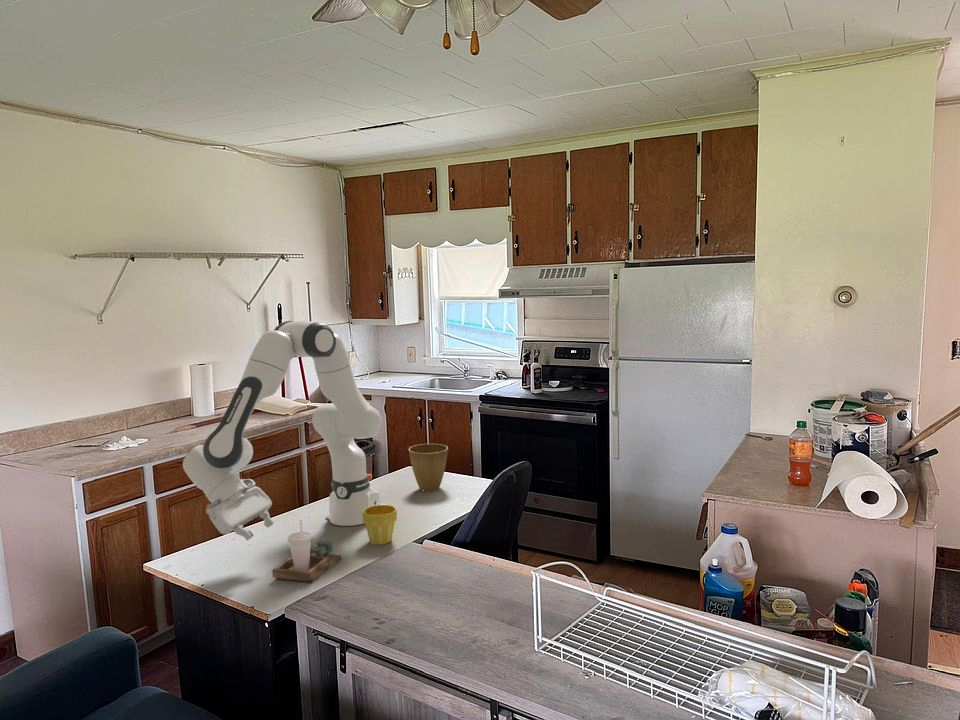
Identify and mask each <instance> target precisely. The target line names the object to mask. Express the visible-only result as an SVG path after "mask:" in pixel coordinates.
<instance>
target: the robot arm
mask: <svg viewBox="0 0 960 720" xmlns="http://www.w3.org/2000/svg"><path fill="white" fill-rule="evenodd" d="M250 354H251V355H250V356H249V358H248V361H247V364H246V366H245V369H244V370H243V371H244V372H243V374H242V377H241V379H240V381H239V383H238V386H237V389H236V390H235V392H234V394H233V396H232V399H231V400H230V402H229V404H228V407H227V408H226V411H225V412H224V415H223V417H222V419H221V421H220V423H219V424H218V426H217V427H216V428H215V429H214V430H213V431H212V432H211V433H210V434H209V435H208V436H207V437H206V439H205V441H204V444H201V445H200V444H199V445H196V446H194V447H192V449H190V450H189V451H188V453H187V454H185V456H184V458H183V462H182V468H183V471H184V472H185V474H186V475H187V477H188V478H189V480H191V482H192V483H193V484H194V485H195V487H196V488H198V489H200V490H201V491H202V492H203V494H204V495H205V498H206V499H207V500H208V501H209V502H211V503H208V504H207V506H206V508H205V512H206V514H207V515H208V516H209V519H210V521H211V522H212V523H213V525H214V526H215V529H217V531H219V533H220V534H222V535H227V534H230V533H231V532H234V533H235V534H237V535H238V536H241V537H243V539H245V540H246V541H249V540H250V539H252V538H253V537H254V533H253V532H252V531H251V530H250V529H249V530H247V529H245V528H244V525H246V524H247V523H249V522H250V521H252V520H254V519H256V518H258V517H260V519H263V521H264V522H263V525H264V526H265V527H266V528H267V529H268V528H270V527H272V526H273V525H274V521H273V520H272V519H271V516H270V513H269V510H270V508H271V507H272V505H273V502H272V500H271V498H270V497H269V496H268V495H267V494H266V493H265V491H264V490H262V489H261V488H260V487H259V486H256V482H255V481H254V480H253V479H251V478H247V479H246V478H245V479H244V478H236V477H235V476H234V474H235V473H237V472H238V471H240V470H242V469H243V468H245V467H246V466H247V465H249V464H250V462H251V461H252V459H253V456H254V447H253V444H252V442H250V441H249V439H247V438H245V437H243V434H244V431H245V429H246V427H247V424H248V422H249V420H250V418H251V415H252V413H253V411H254V409H255V407H256V406H257V405H258V404H259V403H260V402H261V401H263V400H265V399H266V398H269V397H271V396H273V395H275V394H276V393H277V391H278V389H279V388H280V387H281V385H282V383H283V381H284V378H285V376H286V373H287V370H288V369H289V368H288V367H289V365H290V362H291V361H292V359H293V358H294V357H299V358H312V361H313V364H314V365H313V366H314V369H315V373H316V377H317V380H318V385H319V388H320V392H321V393H322V395H323V396H324V397H325V398H327V399H328V400H329V401H331V403H324V404H320V405H318V406H317V407H316V408H315V409H314V411H313V413H312V418H311V422H312V426H313V429H314V430H315V431H316V432H317V433H318V434H319V435H320V436H321V437H322V439H323V440H324V442H325V444H326V446H327V447H326V448H327V449H328V451H329V455H330V461H331V470H332V472H331V473H332V479H331V484H330V485H331V490H332V492H330V493H329V502H328V503H329V504H328V505H329V507H328V510H329V511H328V512H327V514H326V515H325V517H326V519H327V520H329V523H331V524H333V525H336V526H342V527H343V526H346V527H348V526H351V527H352V526H358V525H364V524H365V523H364V522H363V510H364V509H365V508H367V507H369V506H374V505H387V504H386V503H383V502H381V500H380V499H381V498H380V493H379V491H377V490H376V489H374V487H372V486H370V481H372V479H373V474H372V473H367V464H366V463H367V462H366V454H365V452H364V450H362V449H361V447H359V446H358V445H357V443H356V442H355V439H358V440H361V439H369V438H374V437H376V436H377V435H378V434H379V432H380V430H381V428H382V424H383V423H382V421H383V420H382V415H381V413H380V411H378V409H377V408H375V407H374V406H372V405H371V404H370V403H369V402H368V400H366V399H365V397H364V396H363V394H362V393H361V391H360V389H359V387H358V386H357V382H356V380H355V378H354V373H353V370H352V367H351V361H350V358H349V355H348V352H347V349H346V346H345V344H344V342H343V340H342V338H341V336H340V335H338V334H337V333H335V332H334V331H333V330H332V328H331V327H329V326H328V325H327V324H325V323H322V322H319V321H315V322H314V321H310V320H287V321H283V322H281V323H279V324H278V325H277V326H275V328H274V329H272V330H267V331H265V332H264V333H263V334H262V335H261V336H260V338H259V339H258V341H257V343H256V344H255V346H254V348H253V350H252V352H251V353H250Z"/></svg>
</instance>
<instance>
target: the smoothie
mask: <svg viewBox="0 0 960 720" xmlns="http://www.w3.org/2000/svg"><path fill="white" fill-rule="evenodd" d="M299 529H300V530H299V532H295V533H291V534H289V535H288V537H287V542H288V543H289V548H290V554H291V556H292V559H293V564H294V569H295V570H296V571H306V572H307V571H308V570H309V561H310V548H311V547H312V546H311V545H312V540H313V537H312V533H311V532H308V531H303V521H302V519H300V520H299Z"/></svg>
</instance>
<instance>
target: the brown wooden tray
mask: <svg viewBox="0 0 960 720" xmlns="http://www.w3.org/2000/svg"><path fill="white" fill-rule="evenodd" d="M340 560H342V554H336V553H335V554H334V553H333V543H332V541H331V540H319V541H318V542H317V543H316V547H315V546H310V561H309V570H308V571H307V572H306V571H296V570H295V569H294V564H293V559H292V555H291V556H290V557H288V558H287V559H285V560H284V561H282V562H281V563H279V564H278V566H276V567H275V568H273V569H272V570H271V573H272V575H271V576H272V578H276V579H277V580H278V579H279V580H288V581H289V580H290V581H296V582H297V581H298V582H307V583H313V582H315V581H316V580H317V579H318V578H319V577H321V576H322V575H323V574H324V573H326V572H327V571H328V570H329V569H330V568H332V567H333V566H334V565H335V564H337V562H339V561H340ZM331 566H332V567H331Z"/></svg>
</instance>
